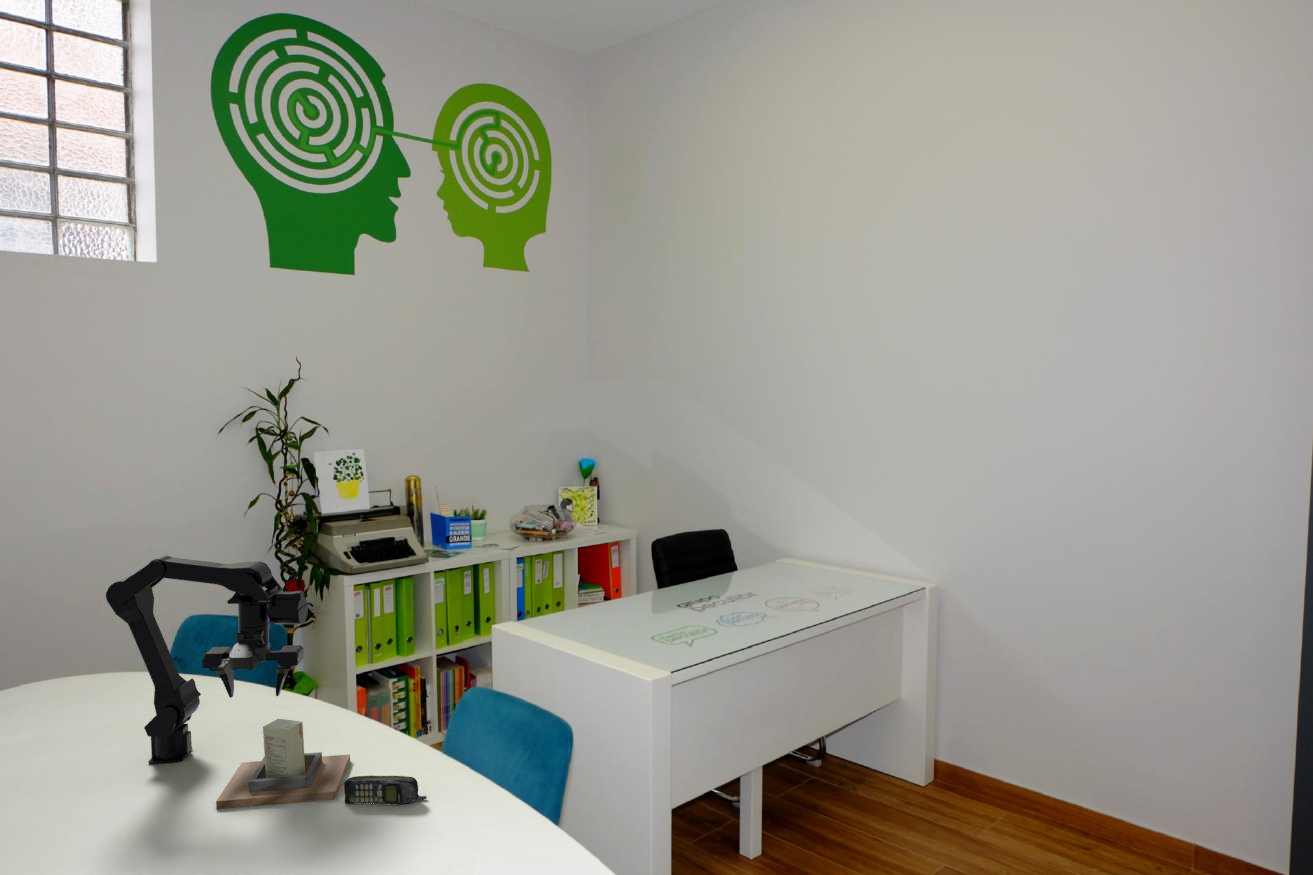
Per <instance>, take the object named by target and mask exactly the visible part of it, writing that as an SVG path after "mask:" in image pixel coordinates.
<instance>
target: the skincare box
mask: <svg viewBox="0 0 1313 875" xmlns="http://www.w3.org/2000/svg"><path fill="white" fill-rule="evenodd" d="M262 734H263V737H262V738H263V750H264V751H263V752H264V756H265V771H266V778H277V777H290V776H303V775H306V774H307V772H305V757H304V753H305V743H304V742H305V740H304V725H303V721H299V720H292V719H284V718H282V719H281V718H277V719H275V720H273V721H271V722H269V723H267V724H266V725H263V726H262Z"/></svg>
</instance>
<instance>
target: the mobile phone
mask: <svg viewBox="0 0 1313 875" xmlns="http://www.w3.org/2000/svg"><path fill="white" fill-rule="evenodd" d="M343 790H344V793H343V794H344V803H345V804H348V805H358V804H357V803H361V804H360V805H384V804H391V805H390V806H394V805H393V804H400V805H404V804H409V803H412V802H414V801H425V800H424V799H426V800H427V796H426V795H423V796H421V795H419V783H418V780H417V779H416V778H415V777H413V776H406V775H405V776H404V775H360V776H359V775H358V776H352V777H349V778H346V780H344V782H343ZM421 799H422V800H421ZM355 803H356V804H355ZM362 803H363V804H362ZM364 803H365V804H364ZM366 803H368V804H366ZM369 803H370V804H369ZM371 803H372V804H371ZM373 803H374V804H373Z"/></svg>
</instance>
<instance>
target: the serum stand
mask: <svg viewBox="0 0 1313 875" xmlns="http://www.w3.org/2000/svg"><path fill="white" fill-rule="evenodd" d="M304 757H305V773H306V775H303V776H290V777H277V778H266V771H265V755H264V756H263V758H262V759H261V760H259V761H256V760H255V761H246V762H245V761H243V762H241V763H240V764H239V766H238V767H237V769H236V770H235V772H234V773H233V775H232V776H231V777H230V779H229V781H228V783H227V784H226V786H225V787H224V789H223V790H222V792H221V793H220V794H219V796H218V798H217V799H216V801H215V804H216V808H215V809H216V810H222V809H230V808H232V809H233V808H243V807H244V808H246V807H256V806H257V807H258V806H269V805H270V806H271V805H281V804H291V803H306V802H316V801H329V800H336V799H337V797H338V794H339V790H340V789H341V786H342V783H343V781H344V779H343V778H345V776H346V774H347V771H348V768H349V766H350V763H351V754H348V753H347V754H336V755H323V752H322V751H319V752H308V753H307V752H306V753H305V752H304Z"/></svg>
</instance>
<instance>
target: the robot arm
mask: <svg viewBox="0 0 1313 875" xmlns="http://www.w3.org/2000/svg"><path fill="white" fill-rule="evenodd" d="M164 579H168V580H169V579H170V580H179V581H186V582H192V583H193V582H195V583H203V584H211V585H217V586H220V587H223V588H225V589H226V590H229V591H230V592H233V593H234V592H235V593H234V594H233V595H232V597H230V598H229V599H228V600H226V603H227V604H228V605H238V606H237V610H238V611H237V612H238V614H237V615H238V631H237V633H236V640H235V643H234V645H233V646H232V647H231V646H213V647H212V648H210V649H209V650H208V651H207V652H205V654H204V655H203V656H202V660H201V664H202V666H201V667H202V668H203V669H209V672H210V673H211V672H214V673H215V674H217V675H218V676H219V678H220V680H221V681H222V683H223V685H224V687H225V691H226V692H227V695H228V697H229V698H231V699H233V697H234V692H235V682H234V681H235V676H234V674H235V672H234V671H238V670H247V671H251V670H255V669H256V668H257V665H258V663H259V664H260V663H261V662H262V663H263V662H264V663H265V662H267V661H276V663H277V666H276V667H275V670H276V681H275V682H276V683H275V696H276V697H279V696H280V694H281V691H282V688H283V685H284V683H285V680H286V677H287V675H288V672H289V671H290V670H292V669H293V668H294V667H296V666H299V664H300V663H301V662H302V661H303V659H304V658H305V649H304V647H303V646H302V645H301V644H297V645H295V644H293V645H287V644H286V645H283V647H282V648H281V649H280V650H270V649H271V642H270V629H271V624H270V623H271V622H272V623H273V624H274V625H303V624H305V622H306V620H307V617H308V610H309V604H308V603H307V599H306V597H305V595H304V594H305V592H304V591H303V590H295V591H284V588H283V587H282V586H281V585H280V583H279V582H278V581H277V580H276V578H275V577H274V576H273V572H272V570H271V568H270V566H268V564H267V563H265V562H263V561H241V562H234V563H220V562H215V561H214V562H212V561H204V560H196V559H189V558H180V557H172V556H171V555H162V556H160V557H157V558H154V559H151V561H150V562H148V564H147V565H145V566H144V567H142V568H140V569H139V570H138V571H136V572H135V573H134V574H132V575H130V576H126V577H125V578H123V579H120V580H117V581H114V583H112V584H110V585H109V587H108V588H107V591H106V592H105V599H106V602H107V603H108V605H109V606H110V608H111V610H112V612H114V614H115V615H116V616H117V617H119V619H121V620H122V621H123V622H124V623H126V624H127V625H128V627H129V630H130V632H131V635H132V637H133V639H134V641H135V644H136V646H137V649H138V651H139V653H140V655H141V658H142V661H143V662H144V666H145V667H146V669H147V673H148V675H149V676H150V679H151V681H152V683H153V686H154V692H153V693H154V695H153V705H154V707H153V708H154V710H155V716H154V717H152V719H151V720H150V721H149V722H148V723H147V724H146V725H144V730H145V733H146V735H147V737H150V748H151V749H150V750H151V757H150V759H149V760H148V764H150V765H151V764H161V763H163V764H164V763H177V762H182V761H184V759H185V758H186V757H187V756H188V754H190V752H191V751H192V750H193V746H192V743H193V742H192V731H191V730H189V723H188V721H191V719H192V715H193V714H194V713H195V712H196V711H197V710H198V708H199V706H200V704H201V701H200V696H201V695H202V694H201V692H200V691H199V690H198V689H197V685H196V681H195V680H194V678H191V679H189V680H186V679H185V678H183V677H182V676H181V675H180V674H179V673H180V672H178V669H177V667H176V664H175V662H174V659H173V657H172V655H171V653H170V650H169V648H168V645H167V643H166V641H165V638H164V636H163V633H162V631H161V629H160V627H159V624H158V622H157V619H156V617H155V615H154V606H155V596H154V591H153V588H154V587H155V586H157V584H159V583H160V582H161V581H162V580H164ZM269 622H270V623H269Z"/></svg>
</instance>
